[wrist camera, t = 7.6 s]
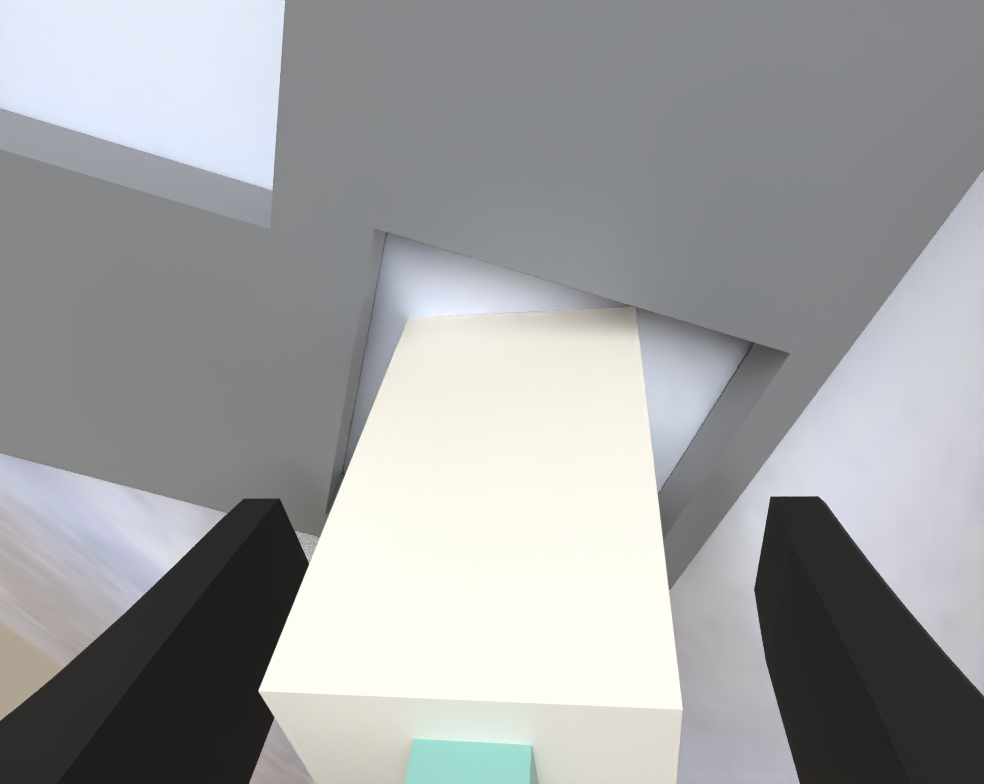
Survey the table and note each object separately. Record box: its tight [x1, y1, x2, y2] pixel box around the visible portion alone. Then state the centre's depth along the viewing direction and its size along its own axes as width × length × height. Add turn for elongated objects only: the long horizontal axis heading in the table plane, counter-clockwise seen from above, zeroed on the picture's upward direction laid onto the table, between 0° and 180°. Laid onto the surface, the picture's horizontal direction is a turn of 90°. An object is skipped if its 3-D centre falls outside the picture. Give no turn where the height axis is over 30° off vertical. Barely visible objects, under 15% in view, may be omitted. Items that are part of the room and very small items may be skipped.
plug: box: [259, 307, 683, 784], centre depth 10 cm, size 4×4×8 cm
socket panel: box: [0, 0, 984, 590], centre depth 10 cm, size 16×14×1 cm
